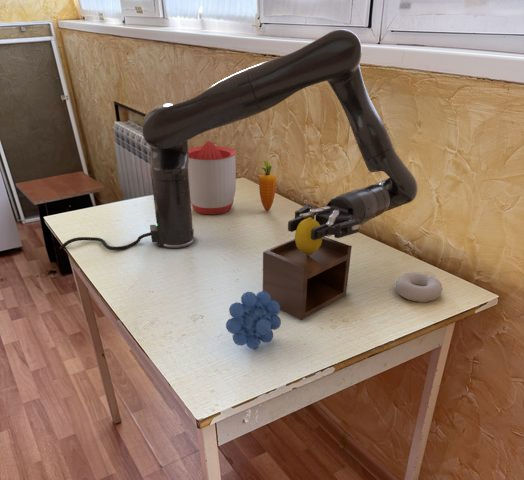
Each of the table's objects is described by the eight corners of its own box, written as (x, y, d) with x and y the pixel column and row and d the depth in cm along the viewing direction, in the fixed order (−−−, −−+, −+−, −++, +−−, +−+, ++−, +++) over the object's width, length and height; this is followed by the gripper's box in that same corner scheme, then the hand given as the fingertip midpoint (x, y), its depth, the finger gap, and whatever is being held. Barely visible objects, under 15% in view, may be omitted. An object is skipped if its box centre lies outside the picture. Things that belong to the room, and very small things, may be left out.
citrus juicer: (182, 201, 160) (176, 135, 148) (235, 200, 161) (234, 134, 150) (180, 218, 147) (174, 148, 136) (239, 216, 149) (237, 146, 137)
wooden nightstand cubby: (301, 320, 100) (304, 268, 94) (262, 301, 106) (262, 251, 100) (346, 295, 109) (351, 246, 102) (307, 279, 115) (310, 231, 109)
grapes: (241, 369, 87) (239, 310, 80) (221, 351, 91) (217, 293, 84) (293, 348, 92) (296, 290, 85) (272, 332, 97) (273, 276, 90)
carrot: (275, 214, 150) (276, 163, 142) (258, 214, 150) (259, 163, 142) (275, 209, 154) (276, 159, 146) (259, 209, 154) (259, 159, 146)
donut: (439, 308, 105) (441, 286, 112) (442, 294, 103) (445, 273, 110) (391, 300, 107) (396, 280, 115) (393, 286, 105) (399, 266, 113)
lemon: (322, 261, 100) (324, 222, 95) (294, 261, 100) (296, 222, 95) (320, 249, 104) (322, 212, 100) (293, 249, 104) (295, 212, 100)
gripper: (327, 184, 109) (274, 203, 99) (383, 199, 100) (331, 221, 91) (325, 217, 113) (273, 238, 103) (378, 235, 105) (328, 259, 95)
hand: (301, 230), depth 97 cm, fingers closed on lemon, 5 cm apart
